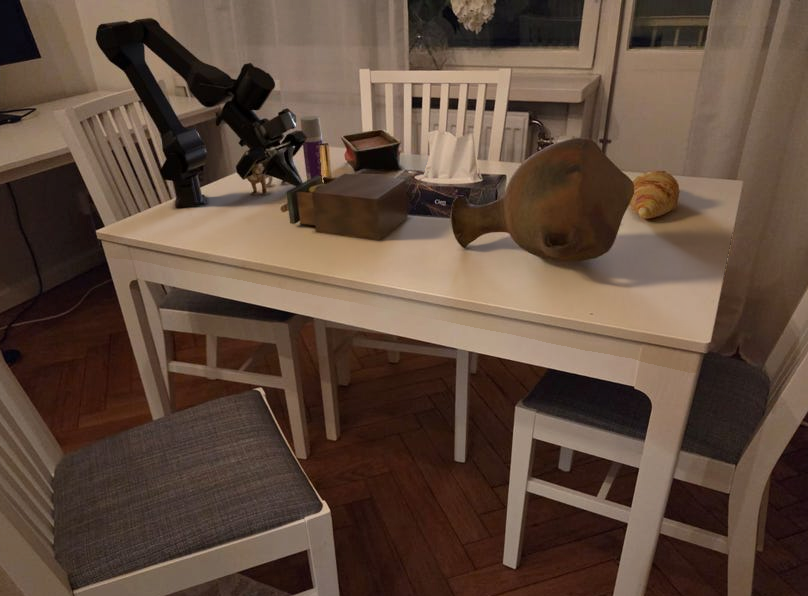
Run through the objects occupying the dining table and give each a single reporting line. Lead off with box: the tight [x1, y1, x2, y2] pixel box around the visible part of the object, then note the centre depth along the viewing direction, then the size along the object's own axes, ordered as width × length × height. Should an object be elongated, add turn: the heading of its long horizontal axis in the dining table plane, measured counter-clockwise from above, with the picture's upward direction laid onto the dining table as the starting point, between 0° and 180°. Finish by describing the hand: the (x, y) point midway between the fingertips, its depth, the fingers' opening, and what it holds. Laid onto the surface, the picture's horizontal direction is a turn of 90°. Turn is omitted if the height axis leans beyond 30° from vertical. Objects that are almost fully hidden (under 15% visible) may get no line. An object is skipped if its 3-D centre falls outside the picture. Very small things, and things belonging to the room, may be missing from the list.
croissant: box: [629, 170, 680, 220], centre depth 126 cm, size 21×10×8 cm, turn 156°
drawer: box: [279, 175, 337, 226], centre depth 128 cm, size 17×12×6 cm
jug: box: [449, 137, 634, 263], centre depth 105 cm, size 20×20×30 cm
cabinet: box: [312, 173, 408, 241], centre depth 124 cm, size 14×13×8 cm
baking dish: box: [340, 128, 402, 173], centre depth 161 cm, size 14×18×10 cm
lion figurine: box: [246, 164, 287, 196], centre depth 147 cm, size 15×5×9 cm, turn 163°
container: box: [300, 115, 324, 184], centre depth 149 cm, size 5×5×15 cm
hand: (301, 185), depth 128 cm, fingers closed, pressing on drawer
